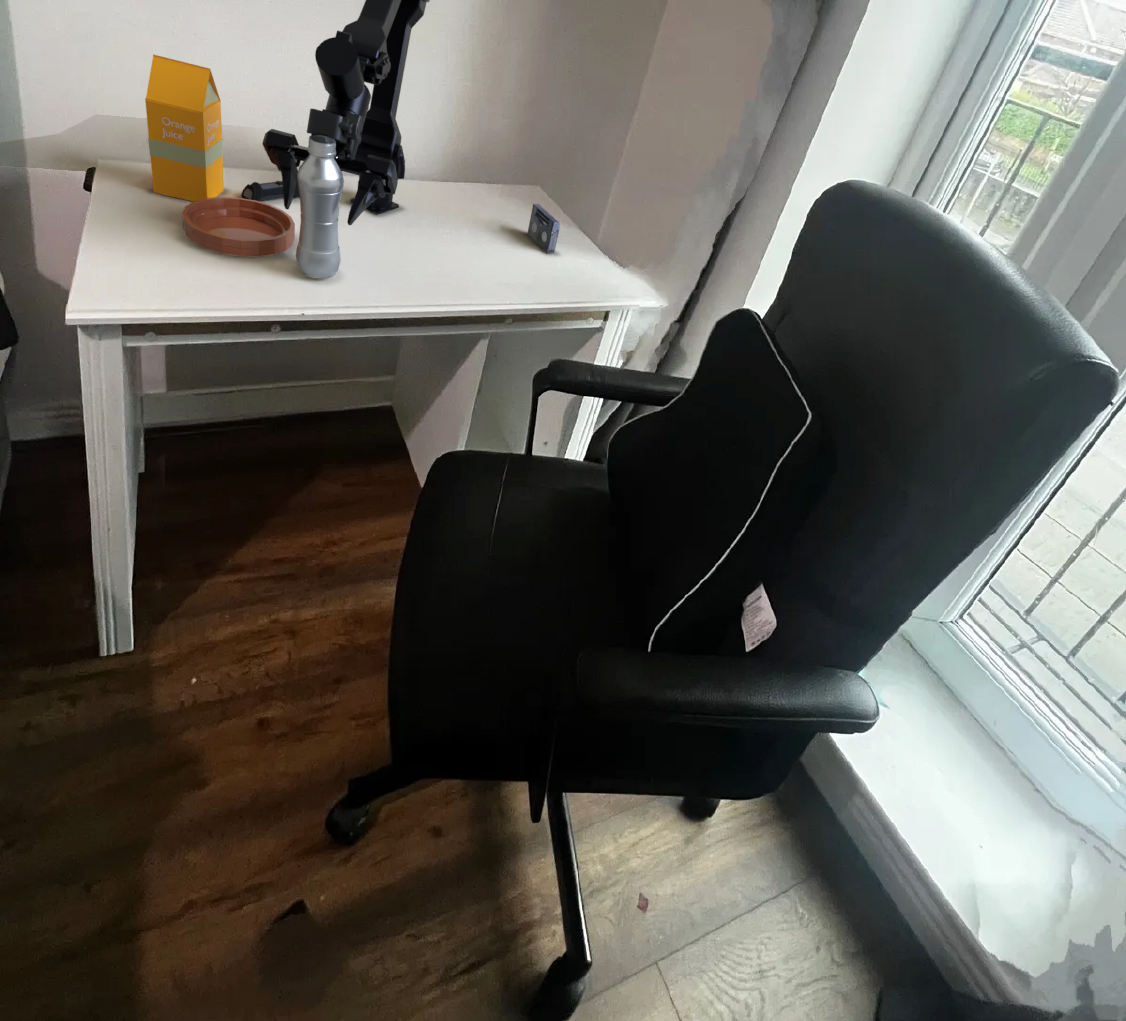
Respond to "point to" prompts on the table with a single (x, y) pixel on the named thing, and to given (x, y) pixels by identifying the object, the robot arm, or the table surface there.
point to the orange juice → (184, 130)
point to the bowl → (238, 226)
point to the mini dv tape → (543, 229)
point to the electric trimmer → (266, 191)
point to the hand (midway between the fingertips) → (317, 215)
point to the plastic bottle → (319, 209)
